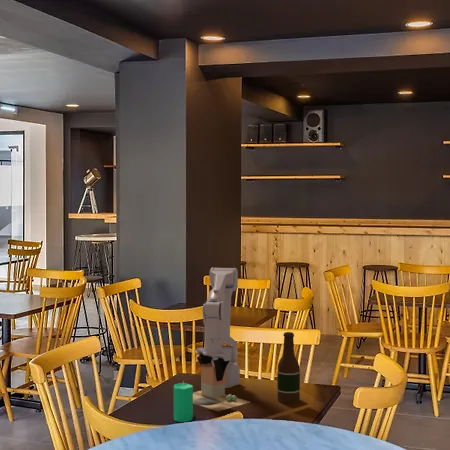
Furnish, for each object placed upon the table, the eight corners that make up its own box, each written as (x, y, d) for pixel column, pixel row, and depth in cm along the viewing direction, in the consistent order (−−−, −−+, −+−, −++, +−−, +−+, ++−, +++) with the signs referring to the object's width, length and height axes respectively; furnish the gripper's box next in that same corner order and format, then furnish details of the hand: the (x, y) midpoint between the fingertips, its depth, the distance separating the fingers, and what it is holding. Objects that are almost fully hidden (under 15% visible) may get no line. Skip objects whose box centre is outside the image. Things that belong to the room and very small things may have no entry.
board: (207, 391, 246) (207, 388, 246) (250, 405, 230) (250, 401, 230) (174, 399, 236) (174, 396, 236) (217, 414, 220) (217, 410, 220)
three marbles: (230, 398, 235) (230, 393, 235) (237, 400, 232) (237, 395, 232) (222, 400, 232) (222, 395, 232) (230, 402, 230) (230, 397, 230)
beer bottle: (302, 401, 235) (302, 331, 235) (297, 407, 228) (297, 335, 227) (280, 399, 238) (280, 329, 237) (274, 405, 230) (274, 334, 230)
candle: (173, 416, 218) (173, 378, 218) (192, 415, 219) (192, 378, 218) (173, 422, 212) (173, 383, 212) (193, 421, 213) (193, 383, 212)
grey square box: (213, 391, 243) (213, 374, 243) (224, 395, 239) (224, 377, 239) (201, 394, 239) (201, 377, 239) (212, 398, 235) (212, 380, 235)
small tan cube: (213, 379, 233) (214, 362, 233) (225, 383, 228) (226, 365, 228) (200, 382, 229) (201, 364, 229) (212, 385, 224) (213, 367, 224)
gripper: (189, 336, 230) (189, 376, 231) (219, 343, 220) (219, 385, 220) (205, 333, 235) (205, 373, 236) (235, 340, 225) (234, 381, 225)
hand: (213, 378), depth 228 cm, fingers closed on small tan cube, 6 cm apart
